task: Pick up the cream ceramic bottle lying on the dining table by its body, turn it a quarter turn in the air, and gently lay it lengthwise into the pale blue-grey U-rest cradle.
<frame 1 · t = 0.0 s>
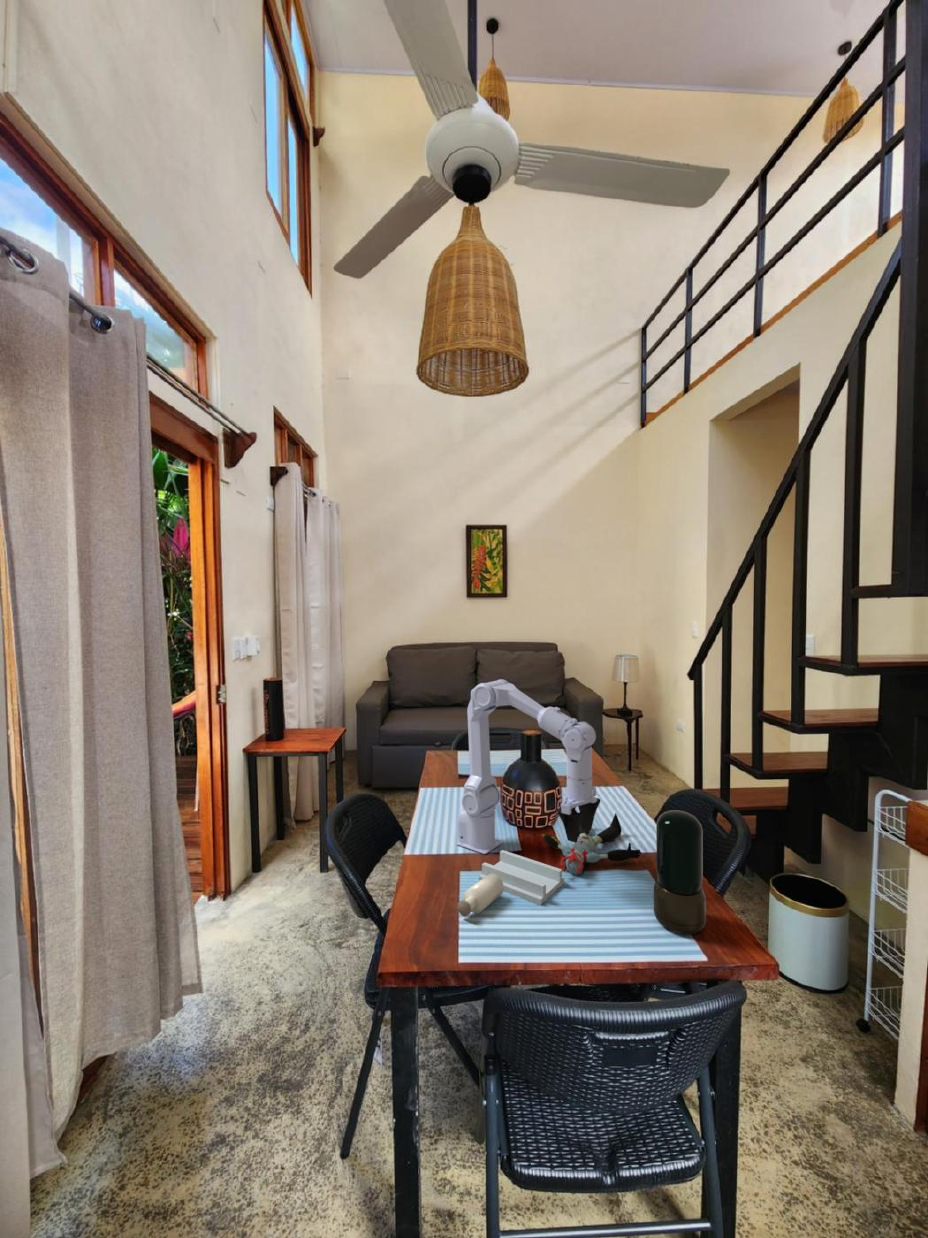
hand: (579, 835, 119), 10 cm above the table, tool pointing down, fingers open, 7 cm apart
bottle: (482, 905, 109), on the table
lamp: (679, 923, 102), on the table
toy: (586, 856, 131), on the table
cradle: (521, 882, 118), on the table
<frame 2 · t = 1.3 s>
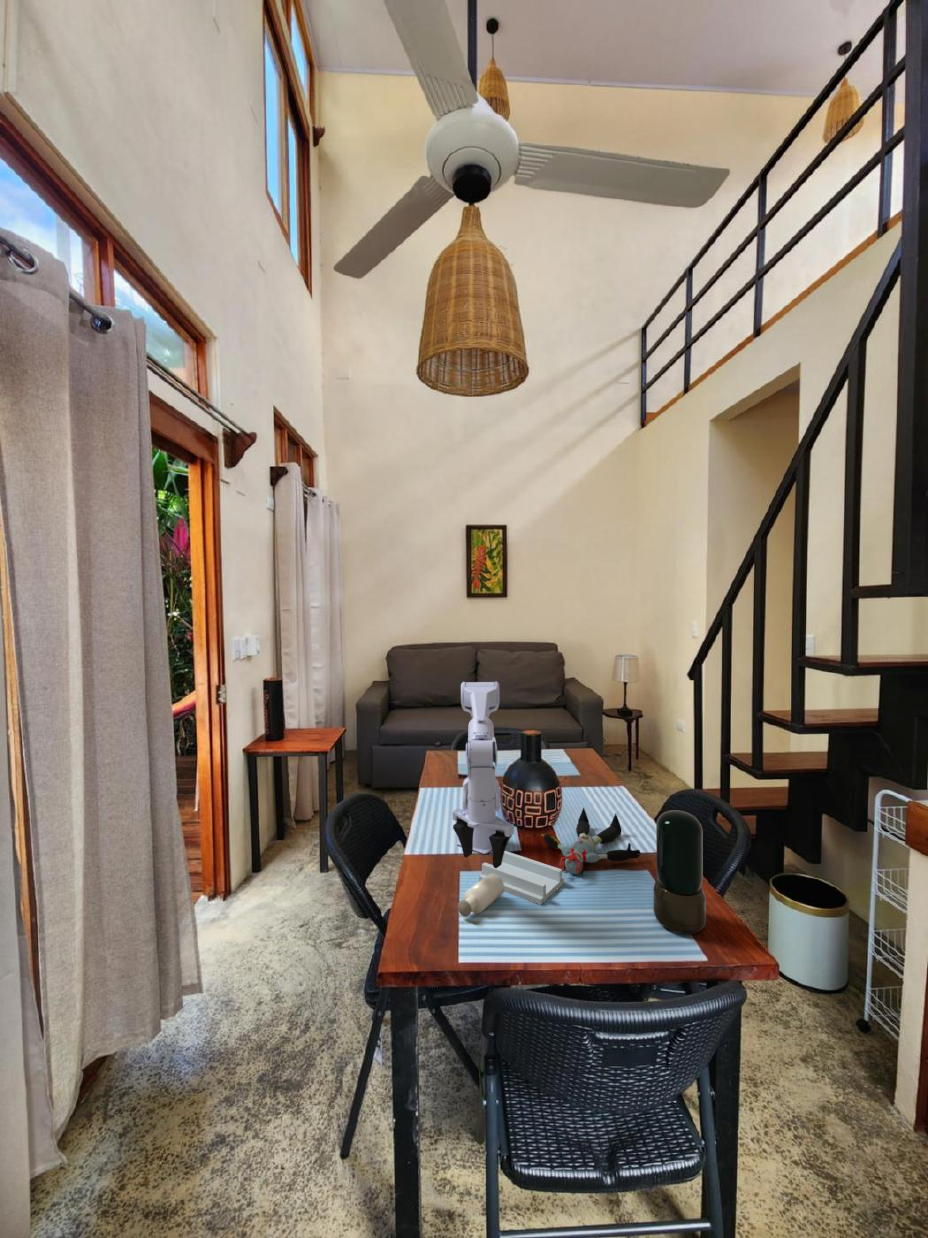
hand: (482, 860, 109), 9 cm above the table, tool pointing down, fingers open, 7 cm apart
nothing on the table moved.
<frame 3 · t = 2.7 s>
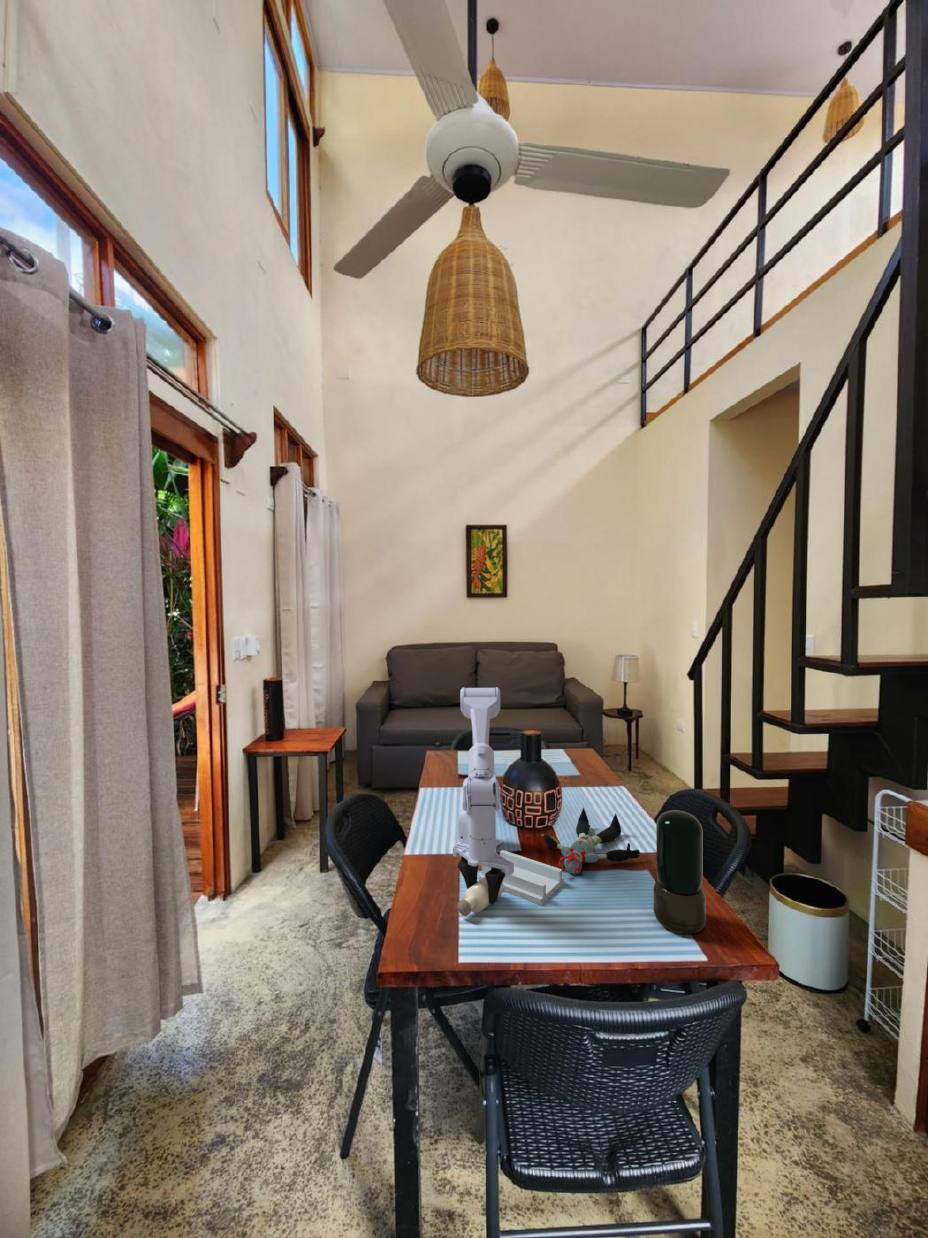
hand: (482, 898, 109), 1 cm above the table, tool pointing down, fingers closed on bottle, 5 cm apart
bottle: (482, 904, 109), on the table, touching gripper
everything else where it was.
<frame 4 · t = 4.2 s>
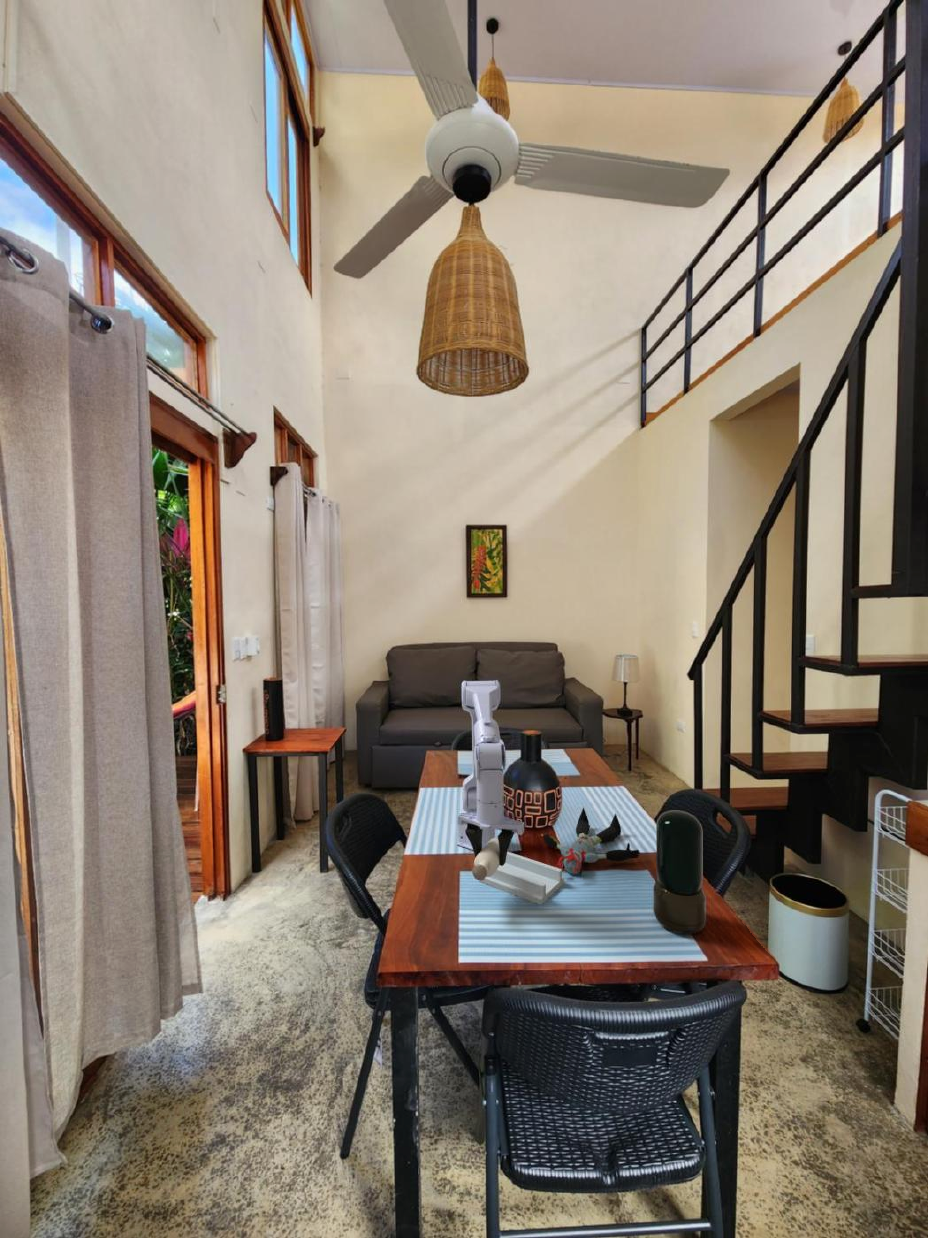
hand: (490, 861, 111), 8 cm above the table, tool pointing down, fingers closed on bottle, 5 cm apart
bottle: (490, 869, 111), point 7 cm above the table, touching gripper
everything else where it was.
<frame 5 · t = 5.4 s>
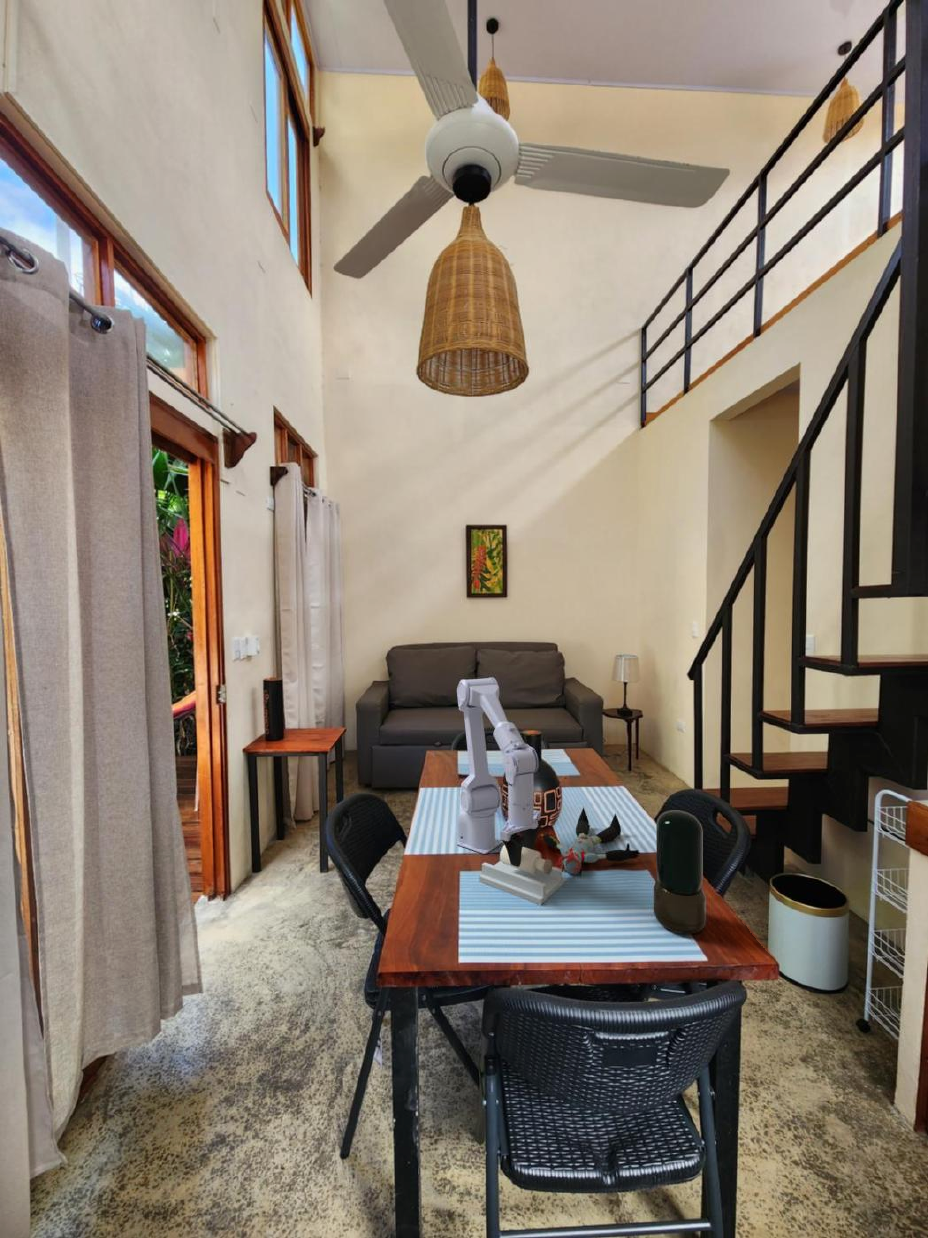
hand: (521, 860, 118), 5 cm above the table, tool pointing down, fingers closed on bottle, 5 cm apart
bottle: (522, 868, 118), point 3 cm above the table, touching gripper
everything else where it was.
when the fingers open (4 cm above the table, at t = 6.0 s): bottle drops 1 cm, resting on cradle.
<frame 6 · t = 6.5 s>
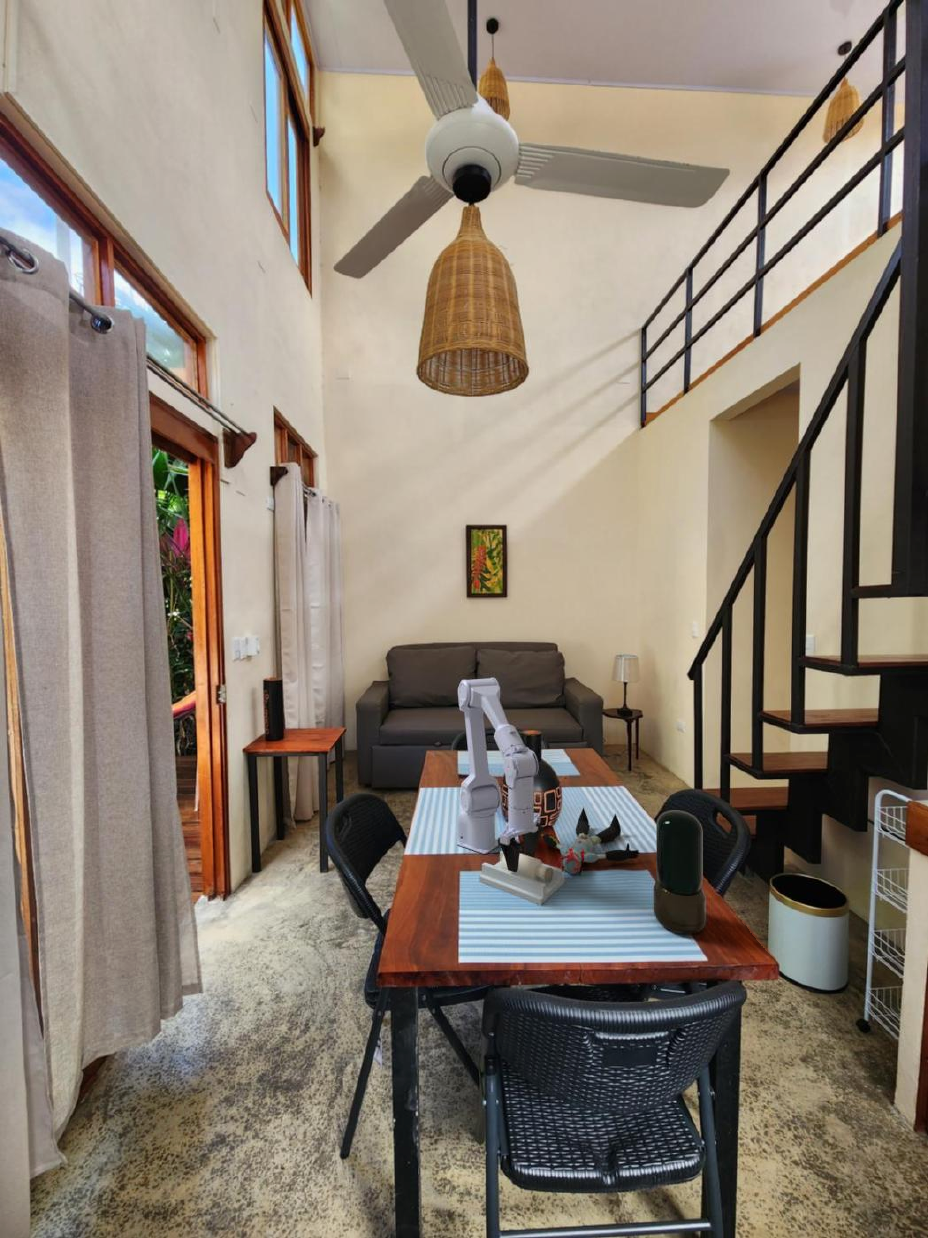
hand: (521, 864, 118), 4 cm above the table, tool pointing down, fingers open, 7 cm apart
bottle: (522, 877, 118), point 1 cm above the table, tilted 9°, touching cradle
everything else where it was.
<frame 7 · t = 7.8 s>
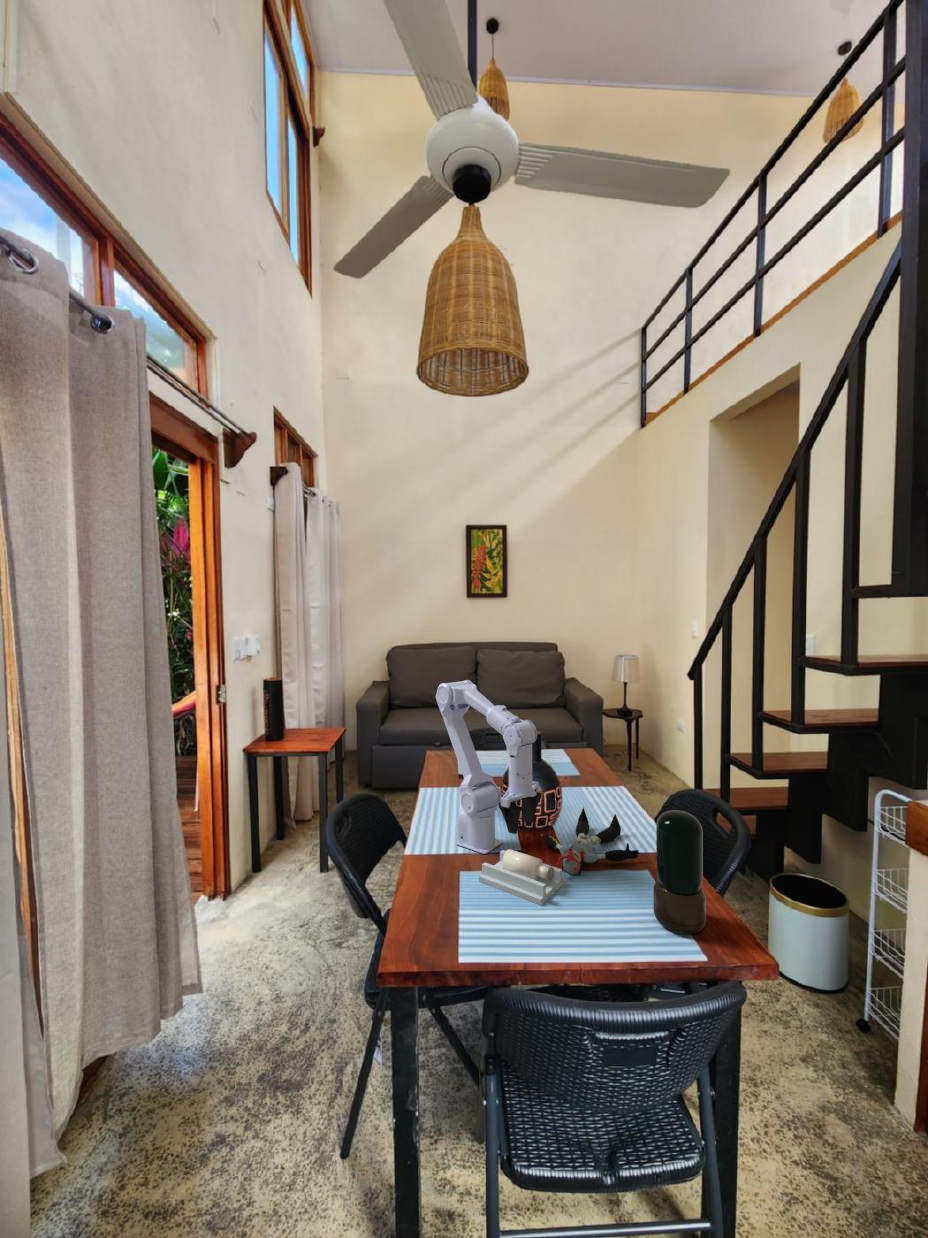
hand: (520, 827, 125), 9 cm above the table, tool pointing down, fingers open, 7 cm apart
bottle: (522, 876, 118), point 1 cm above the table, tilted 17°, touching cradle
everything else where it was.
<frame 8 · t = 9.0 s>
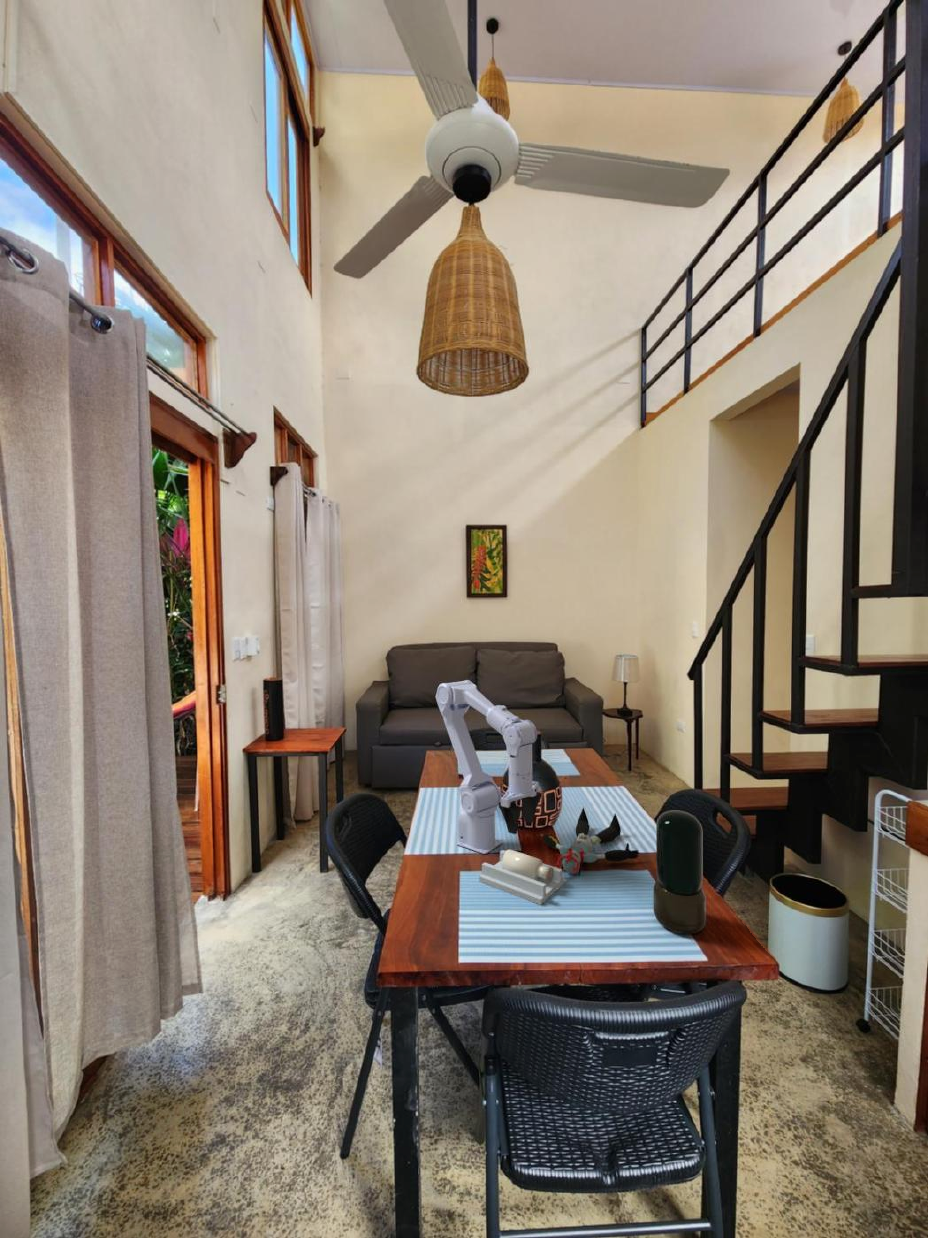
hand: (520, 827, 125), 9 cm above the table, tool pointing down, fingers open, 7 cm apart
nothing on the table moved.
at the end: bottle inside the target area on the cradle (0.3 cm from its centre), point 1.3 cm above the cradle's base; bottle touching cradle; the gripper is holding nothing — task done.
